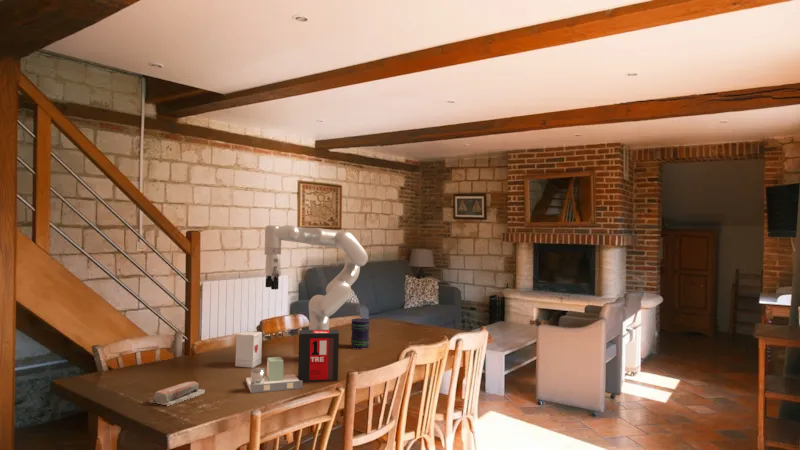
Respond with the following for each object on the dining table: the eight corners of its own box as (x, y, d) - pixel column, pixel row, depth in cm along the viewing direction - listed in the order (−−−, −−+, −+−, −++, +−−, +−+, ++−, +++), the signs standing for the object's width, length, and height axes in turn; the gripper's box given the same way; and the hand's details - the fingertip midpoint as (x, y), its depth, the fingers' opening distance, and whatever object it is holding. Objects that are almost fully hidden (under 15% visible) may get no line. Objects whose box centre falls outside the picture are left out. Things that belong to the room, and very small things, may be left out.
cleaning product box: (297, 382, 222) (299, 334, 222) (298, 376, 230) (299, 330, 231) (337, 381, 224) (338, 333, 225) (336, 375, 233) (337, 329, 233)
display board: (294, 377, 228) (294, 370, 228) (302, 388, 213) (302, 381, 213) (246, 381, 221) (246, 374, 221) (250, 393, 205) (251, 385, 205)
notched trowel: (169, 394, 188) (148, 390, 191) (169, 408, 188) (147, 404, 191) (205, 381, 205) (185, 378, 208) (205, 394, 204) (185, 390, 208)
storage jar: (372, 347, 291) (373, 319, 291) (361, 350, 283) (362, 322, 283) (358, 344, 296) (358, 317, 297) (347, 347, 288) (347, 320, 288)
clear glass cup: (263, 383, 214) (263, 367, 214) (265, 386, 209) (265, 370, 209) (249, 384, 212) (250, 368, 212) (251, 388, 207) (251, 371, 207)
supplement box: (252, 368, 242) (253, 335, 242) (234, 366, 244) (235, 334, 244) (262, 363, 251) (262, 331, 251) (244, 362, 252) (245, 330, 253)
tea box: (266, 376, 223) (267, 357, 223) (280, 375, 225) (280, 356, 225) (269, 381, 216) (269, 361, 216) (283, 380, 218) (283, 360, 219)
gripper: (286, 252, 244) (285, 289, 243) (275, 250, 259) (274, 286, 259) (269, 252, 240) (268, 290, 240) (260, 250, 255) (259, 286, 255)
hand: (271, 288), depth 249 cm, fingers open, 9 cm apart
